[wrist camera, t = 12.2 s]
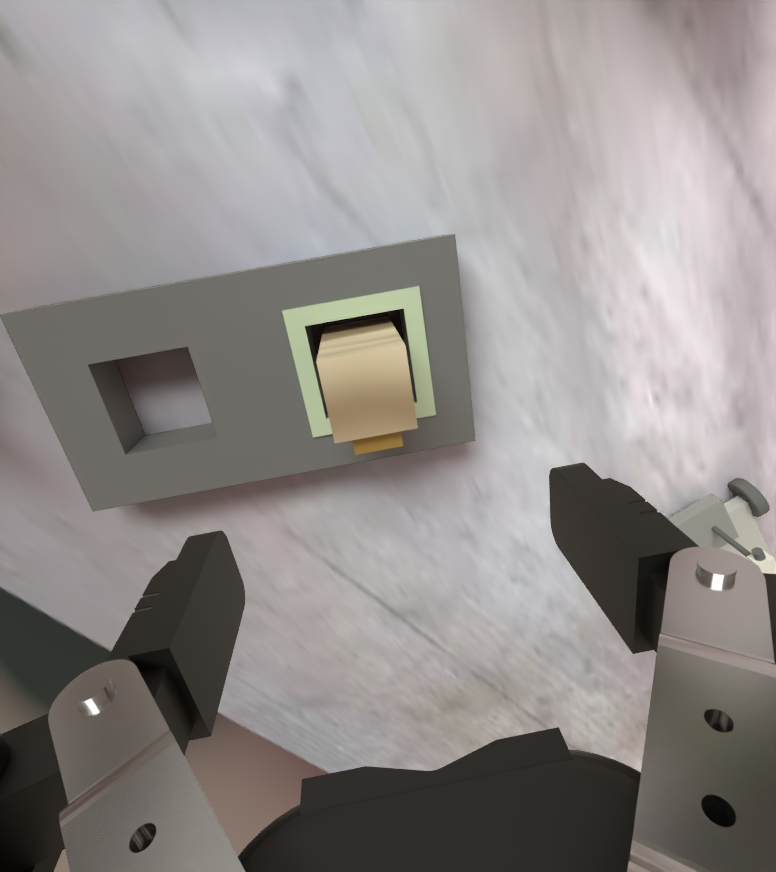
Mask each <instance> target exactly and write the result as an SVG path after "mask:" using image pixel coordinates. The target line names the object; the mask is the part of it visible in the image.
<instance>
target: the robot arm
mask: <svg viewBox="0 0 776 872" xmlns="http://www.w3.org/2000/svg"><path fill="white" fill-rule="evenodd" d="M549 485H550V518H551V528H552V533H553V536H554V539H555V542H556V544H557V546H558V547H559V549H560V550H561V552H562V553H563V555H564V556H565V558H566V559H567V560H568V562H569V563H570V565H571V566H572V568H573V569H574V570H575V572H576V573H577V575H578V576H579V578H580V579H581V580H582V582H583V583H584V585H585V586H586V588H587V589H588V590H589V592H590V593H591V595H592V596H593V598H594V599H595V600H596V602H597V603H598V605H599V606H600V607H601V609H602V610H603V612H604V613H605V615H606V616H607V617H608V619H609V620H610V622H611V623H612V625H613V626H614V627H615V629H616V630H617V632H618V633H619V635H620V636H621V637H622V639H623V640H624V642H625V643H626V645H627V646H628V647H629V649H630V650H631V652H632V653H633V654H635V653H640V652H645V651H650V650H655V652H656V653H657V656H656V664H655V671H654V679H653V686H652V694H651V701H650V709H649V716H648V724H647V732H646V739H645V747H644V754H643V762H642V769H641V773H640V772H639V771H637V770H635V769H633V768H631V767H629V766H627V765H625V764H623V763H620V762H618V761H616V760H613V759H610V758H607V757H604V756H601V755H598V754H594V753H589V752H584V751H579V750H568V747H567V745H566V743H565V741H564V738H563V736H562V734H561V732H560V729H559V727H558V728H553V729H548V730H543V731H539V732H534V733H529V734H524V735H519V736H514V737H509V738H504V739H499V740H495V741H493V742H491V743H489V744H487V745H486V746H484V747H482V748H480V749H478V750H476V751H474V752H472V753H470V754H468V755H466V756H464V757H462V758H460V759H458V760H456V761H454V762H452V763H450V764H448V765H446V766H444V767H442V768H440V769H438V770H434V771H419V770H406V769H393V768H380V767H366V766H365V767H360V768H355V769H351V770H346V771H341V772H336V773H331V774H326V775H321V776H316V777H311V778H306V779H302V788H301V802H300V805H298V806H296V807H294V808H292V809H290V810H289V811H287V812H286V813H284V814H283V815H281V816H280V817H278V818H277V819H276V820H274V821H273V822H272V823H271V824H270V825H268V826H267V827H266V828H265V829H263V830H262V831H261V832H260V833H259V834H258V835H257V836H256V837H255V838H254V839H253V840H252V841H251V842H250V843H249V844H248V845H247V846H246V848H245V849H244V850H243V851H242V852H241V854H240V855H239V856H238V857H237V855H236V853H235V851H234V849H233V847H232V845H231V844H230V842H229V840H228V838H227V836H226V834H225V833H224V831H223V829H222V827H221V825H220V823H219V821H218V819H217V817H216V815H215V813H214V812H213V810H212V808H211V806H210V804H209V802H208V800H207V798H206V796H205V794H204V793H203V791H202V789H201V787H200V785H199V783H198V781H197V779H196V777H195V776H194V774H193V772H192V770H191V768H190V766H189V764H188V762H187V760H186V759H185V757H184V755H185V752H186V748H187V745H188V742H189V740H194V739H199V738H204V737H209V736H211V734H212V730H213V726H214V722H215V718H216V715H217V711H218V707H219V703H220V699H221V695H222V692H223V688H224V684H225V680H226V676H227V672H228V668H229V665H230V661H231V657H232V653H233V649H234V645H235V641H236V638H237V634H238V630H239V626H240V622H241V618H242V614H243V610H244V606H245V590H244V585H243V581H242V578H241V575H240V572H239V569H238V567H237V564H236V561H235V558H234V556H233V553H232V550H231V547H230V544H229V542H228V539H227V537H226V535H225V533H224V532H223V531H216V532H210V533H205V534H200V535H195V536H190V537H188V539H187V540H186V542H185V544H184V546H183V548H182V550H181V552H180V554H179V556H178V558H177V560H174V561H169V562H168V563H167V564H166V565H165V566H164V567H163V568H162V569H161V570H160V571H159V572H158V573H157V574H156V575H154V576H153V577H152V579H151V581H150V582H149V584H148V586H147V588H146V590H145V592H144V593H143V598H141V599H140V601H139V602H138V604H137V606H136V608H135V613H132V615H131V617H130V619H129V621H128V622H127V624H126V626H125V628H124V630H123V631H122V633H121V635H120V637H119V639H118V641H117V642H116V644H115V646H114V648H113V650H112V651H111V653H110V655H109V657H108V659H107V661H106V662H105V663H101V664H99V665H97V666H95V667H93V668H91V669H89V670H87V671H86V672H84V673H83V674H81V675H80V676H78V677H77V678H76V679H74V680H73V681H72V682H71V683H70V684H68V685H67V686H66V687H65V688H64V689H63V691H62V692H61V693H60V694H59V695H58V697H57V698H56V699H55V701H54V703H53V704H52V706H51V709H50V711H49V713H48V714H46V715H44V716H42V717H39V718H37V719H35V720H32V721H30V722H28V723H26V724H24V725H21V726H19V727H17V728H14V729H12V730H10V731H8V732H6V733H3V734H0V872H54V869H55V867H56V864H57V862H58V859H59V857H60V854H61V852H62V850H63V849H65V850H66V855H67V859H68V864H69V869H70V872H776V574H768V573H762V572H761V571H760V569H759V568H758V567H757V566H756V565H754V564H753V563H752V562H750V561H749V560H747V559H746V558H744V557H742V556H740V555H737V554H735V553H732V552H729V551H726V550H723V549H718V548H712V547H699V546H698V545H697V544H696V543H695V542H694V541H692V540H691V539H690V538H689V537H688V536H687V535H686V534H684V533H683V532H682V531H681V530H680V529H679V528H677V527H676V526H675V525H674V524H673V523H672V522H670V521H669V520H668V519H667V518H666V517H665V516H664V515H662V514H661V513H660V512H659V513H658V512H657V509H655V508H654V507H653V506H652V505H651V504H650V503H648V502H645V499H644V498H643V497H642V496H640V495H639V494H638V493H637V492H636V491H635V490H633V489H632V488H631V487H629V486H627V485H625V484H622V483H620V482H618V481H615V480H613V479H611V478H608V479H603V480H602V479H601V478H600V477H599V476H598V475H597V474H596V473H595V472H594V471H593V470H592V469H591V468H589V467H588V466H587V465H586V464H585V463H578V464H572V465H567V466H562V467H557V468H552V469H551V471H550V475H549Z"/></svg>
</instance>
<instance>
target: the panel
mask: <svg viewBox="0 0 776 872" xmlns="http://www.w3.org/2000/svg"><path fill="white" fill-rule="evenodd" d="M398 309H399V314H400V321H401V327H402V334H403V341H404V344H405V345H406V352H407V358H408V365H409V372H410V378H411V385H412V392H413V398H414V405H415V412H416V418H417V425H418V428H416V429H411V430H405V431H401V435H402V441H403V446H401V447H395V448H390V449H385V450H379V451H374V452H369V453H363V454H358V455H355V452H354V447H353V442H352V440H351V441H346V442H341V443H335V442H334V438H333V433H332V429H331V425H330V420H329V416H328V411H327V407H326V403H325V398H324V394H323V389H322V385H321V381H320V376H319V372H318V367H317V363H316V360H317V353H316V348H315V344H314V339H313V335H312V330H311V326H310V325H314V324H320V323H325V322H331V321H336V320H342V319H348V318H353V317H359V316H364V315H370V314H375V313H381V312H387V311H392V310H398ZM0 317H1V319H2V321H3V324H4V326H5V328H6V330H7V332H8V334H9V336H10V338H11V340H12V342H13V345H14V347H15V349H16V351H17V353H18V355H19V357H20V359H21V361H22V363H23V366H24V368H25V370H26V372H27V374H28V376H29V378H30V380H31V382H32V385H33V387H34V389H35V391H36V393H37V395H38V397H39V399H40V401H41V403H42V406H43V408H44V410H45V412H46V414H47V416H48V418H49V420H50V422H51V425H52V427H53V429H54V431H55V433H56V435H57V437H58V439H59V441H60V443H61V446H62V448H63V450H64V452H65V454H66V456H67V458H68V460H69V462H70V465H71V467H72V469H73V471H74V473H75V475H76V477H77V479H78V481H79V483H80V486H81V488H82V490H83V492H84V494H85V496H86V498H87V500H88V502H89V504H90V507H91V509H92V511H98V510H103V509H109V508H114V507H120V506H125V505H130V504H136V503H141V502H147V501H152V500H157V499H163V498H168V497H174V496H179V495H184V494H190V493H195V492H201V491H206V490H211V489H217V488H222V487H228V486H233V485H238V484H244V483H249V482H255V481H260V480H265V479H271V478H276V477H282V476H287V475H292V474H298V473H303V472H309V471H314V470H319V469H325V468H330V467H336V466H341V465H346V464H352V463H357V462H363V461H368V460H373V459H379V458H384V457H390V456H395V455H400V454H406V453H411V452H417V451H422V450H427V449H433V448H438V447H444V446H449V445H455V444H460V443H465V442H471V441H475V433H474V423H473V413H472V403H471V392H470V382H469V372H468V362H467V352H466V341H465V331H464V321H463V311H462V301H461V290H460V280H459V270H458V260H457V250H456V240H455V235H441V236H436V237H430V238H424V239H419V240H413V241H408V242H402V243H396V244H391V245H385V246H379V247H374V248H368V249H362V250H357V251H351V252H345V253H340V254H334V255H328V256H323V257H317V258H311V259H306V260H300V261H294V262H289V263H283V264H278V265H272V266H266V267H261V268H255V269H249V270H244V271H238V272H232V273H227V274H221V275H215V276H210V277H204V278H198V279H193V280H187V281H181V282H176V283H170V284H165V285H159V286H153V287H148V288H142V289H136V290H131V291H125V292H119V293H114V294H108V295H102V296H97V297H91V298H85V299H80V300H74V301H68V302H63V303H57V304H51V305H46V306H40V307H35V308H30V309H25V310H21V311H16V312H11V313H7V314H2V315H0ZM183 347H188V349H189V352H190V355H191V358H192V361H193V364H194V367H195V370H196V373H197V376H198V379H199V382H200V385H201V388H202V392H203V395H204V398H205V401H206V404H207V407H208V410H209V413H210V416H211V419H212V422H213V423H211V424H205V425H200V426H194V427H189V428H183V429H178V430H172V431H167V432H161V433H156V434H150V435H145V434H144V432H143V429H142V427H141V424H140V421H139V419H138V416H137V414H136V411H135V409H134V406H133V404H132V401H131V399H130V396H129V394H128V391H127V389H126V386H125V384H124V381H123V378H122V376H121V373H120V371H119V368H118V366H117V363H116V361H115V360H116V359H122V358H127V357H133V356H138V355H144V354H150V353H155V352H161V351H166V350H172V349H177V348H183Z"/></svg>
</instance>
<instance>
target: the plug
mask: <svg viewBox="0 0 776 872" xmlns="http://www.w3.org/2000/svg"><path fill="white" fill-rule="evenodd" d="M316 363H317V367H318V372H319V376H320V381H321V385H322V389H323V394H324V398H325V403H326V407H327V411H328V416H329V420H330V425H331V429H332V433H333V438H334V442H335V443H341V442H346V441H351V440H352V442H353V447H354V452H355V455H358V454H363V453H369V452H374V451H379V450H385V449H390V448H395V447H401V446H403V441H402V435H401V431H405V430H411V429H416V428H418V425H417V418H416V412H415V405H414V398H413V392H412V385H411V378H410V372H409V365H408V358H407V352H406V345H405V344H404V342H403V340H402V339H401V337H400V335H399V334H398V332H397V330H396V328H395V327H394V325H393V323H392V322H391V320H390V318H389V317H388V316H384V317H378V318H373V319H367V320H362V321H356V322H351V323H345V324H340V325H334V326H329V327H324V329H323V334H322V338H321V343H320V347H319V351H318V356H317V360H316Z"/></svg>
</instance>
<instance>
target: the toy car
mask: <svg viewBox="0 0 776 872" xmlns="http://www.w3.org/2000/svg"><path fill="white" fill-rule="evenodd" d="M728 487H729V489H730V490H731V491H732V493H733V496H734V498H733V499H731V500H729V501H728V502H726V503H724V504H723V502H722V500H721V499H720V498H718V497H717V496H715V495H714V494H712V493H710V494H709V495H707V496H705V497H704V498H702V499H700V500H699V501H697V502H695V503H694V504H692V505H690V506H688V507H687V508H685V509H683V510H682V511H680V512H678V513H677V514H675V515H673V516H672V517H670V518H668V520H669V521H670V522H672V523H673V524H674V525H675V526H676V527H677V528H679V529H680V530H681V531H682V532H683V533H684V534H686V535H687V536H688V537H689V538H690V539H691V540H692V541H694V542H695V543H696V544H697V545H698V546H699V547H712V548H718V549H723V550H726V551H729V552H732V553H735V554H737V555H740V556H742V557H744V558H746V559H747V560H749V561H750V562H752V563H753V564H754V565H756V566H757V567H758V568H759V569H760V571H761V572H762V573H768V574H776V561H775V559H774V558H773V557H772V555H771V553H770V551H769V548H768V546H767V544H766V542H765V540H764V537H763V535H762V533H761V531H760V528H759V526H758V524H757V522H756V520H755V517H754V516H756V517H759V516H761V515H763V514H765V513H767V512H768V511H769V504H768V502H767V501H766V499H765V498H764V496H763V495H762V494H761V493H760V492H759V490H758V489H756V488H755V487H754V486H753V485H752V484H750V483H749V482H748V481H746V480H744V479H741V478H737V479H735V480H733V481H731V482H730V483H728Z"/></svg>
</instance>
